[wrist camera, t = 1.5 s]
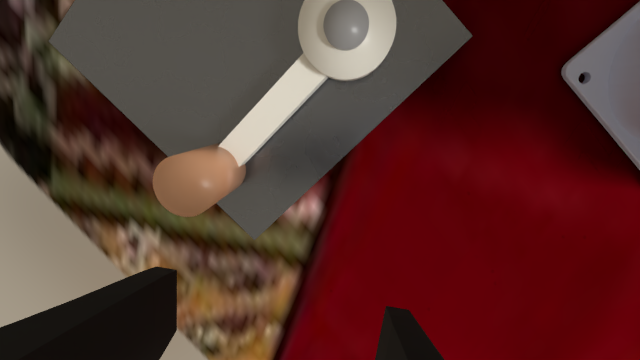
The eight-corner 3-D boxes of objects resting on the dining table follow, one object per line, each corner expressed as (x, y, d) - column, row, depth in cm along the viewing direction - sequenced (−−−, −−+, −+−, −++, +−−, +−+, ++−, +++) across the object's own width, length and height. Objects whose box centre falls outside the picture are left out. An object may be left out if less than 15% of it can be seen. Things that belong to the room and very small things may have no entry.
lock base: (465, 40, 15) (474, 34, 14) (254, 237, 18) (247, 246, 17) (232, -230, 13) (221, -262, 12) (54, 45, 17) (32, 40, 16)
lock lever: (410, 34, 14) (431, 7, 10) (234, 210, 17) (199, 240, 13) (348, -35, 13) (347, -90, 10) (180, 157, 16) (127, 172, 13)
